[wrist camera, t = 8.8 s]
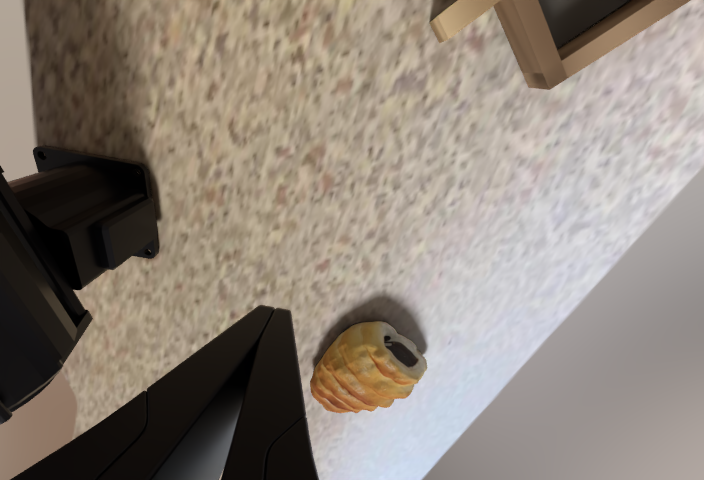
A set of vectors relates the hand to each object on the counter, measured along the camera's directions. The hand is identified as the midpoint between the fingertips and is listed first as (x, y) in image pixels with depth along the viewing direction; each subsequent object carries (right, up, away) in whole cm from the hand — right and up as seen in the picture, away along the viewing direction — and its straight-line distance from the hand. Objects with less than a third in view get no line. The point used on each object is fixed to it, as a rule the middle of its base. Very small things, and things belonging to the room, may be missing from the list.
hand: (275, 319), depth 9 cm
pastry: (+3, -7, +18) cm, 19 cm away
